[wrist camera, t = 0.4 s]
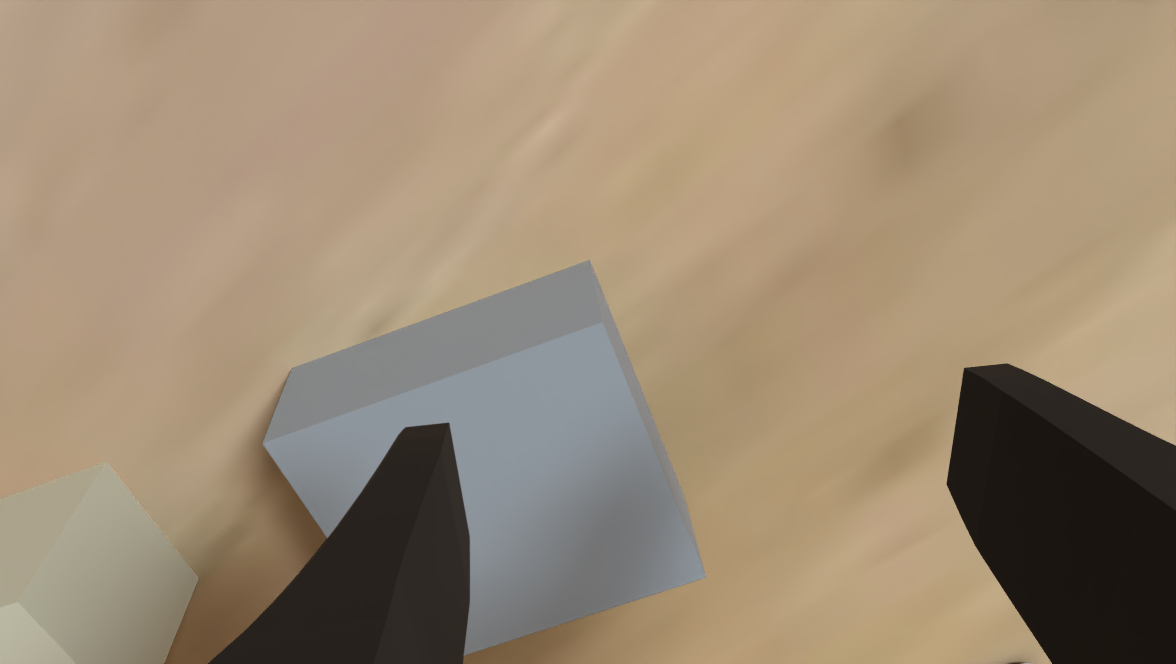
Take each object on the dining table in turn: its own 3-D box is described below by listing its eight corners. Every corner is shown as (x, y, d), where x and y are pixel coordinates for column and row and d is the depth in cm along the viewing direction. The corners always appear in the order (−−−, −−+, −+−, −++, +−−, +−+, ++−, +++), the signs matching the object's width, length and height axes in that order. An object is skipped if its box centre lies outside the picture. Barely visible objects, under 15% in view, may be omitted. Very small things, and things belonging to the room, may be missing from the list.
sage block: (199, 577, 26) (137, 728, 22) (60, 623, 26) (-28, 781, 22) (107, 459, 24) (17, 602, 19) (-43, 512, 24) (-164, 663, 20)
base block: (682, 490, 26) (706, 577, 23) (427, 575, 27) (417, 670, 24) (588, 254, 22) (602, 322, 19) (294, 362, 23) (262, 443, 20)
